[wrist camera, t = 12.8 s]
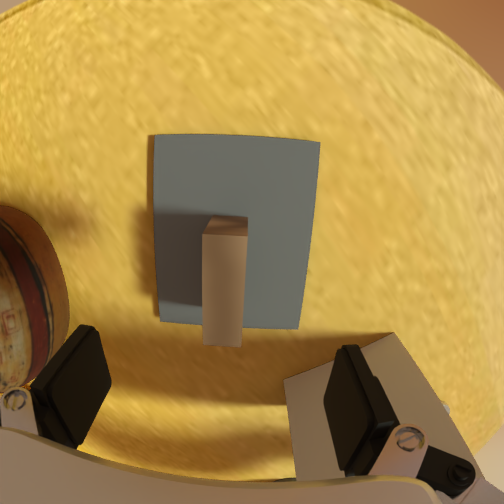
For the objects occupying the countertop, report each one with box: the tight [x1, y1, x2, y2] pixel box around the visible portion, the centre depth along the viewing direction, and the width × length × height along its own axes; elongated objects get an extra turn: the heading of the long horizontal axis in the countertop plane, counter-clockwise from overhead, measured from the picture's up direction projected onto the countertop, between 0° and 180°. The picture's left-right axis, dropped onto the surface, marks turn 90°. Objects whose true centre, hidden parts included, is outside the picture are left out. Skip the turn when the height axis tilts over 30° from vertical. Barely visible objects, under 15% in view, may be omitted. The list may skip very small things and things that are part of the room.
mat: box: [153, 134, 320, 329], centre depth 26 cm, size 18×14×1 cm
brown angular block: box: [202, 215, 248, 347], centre depth 24 cm, size 3×9×6 cm, turn 176°
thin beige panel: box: [283, 333, 485, 481], centre depth 18 cm, size 14×6×30 cm, turn 115°
